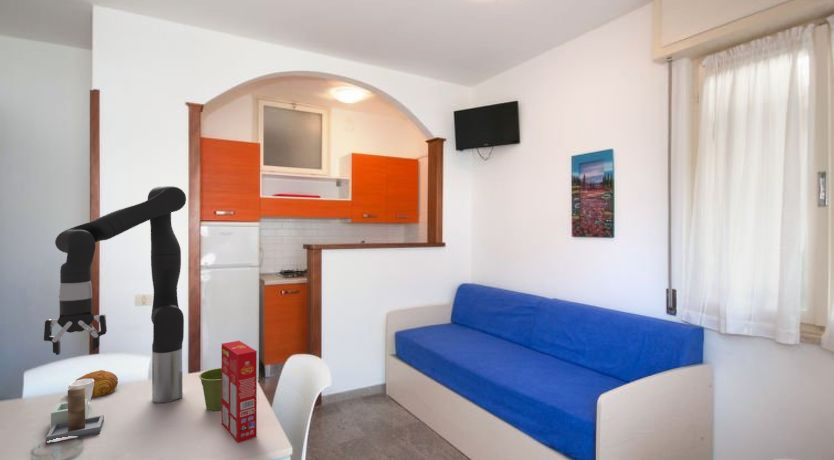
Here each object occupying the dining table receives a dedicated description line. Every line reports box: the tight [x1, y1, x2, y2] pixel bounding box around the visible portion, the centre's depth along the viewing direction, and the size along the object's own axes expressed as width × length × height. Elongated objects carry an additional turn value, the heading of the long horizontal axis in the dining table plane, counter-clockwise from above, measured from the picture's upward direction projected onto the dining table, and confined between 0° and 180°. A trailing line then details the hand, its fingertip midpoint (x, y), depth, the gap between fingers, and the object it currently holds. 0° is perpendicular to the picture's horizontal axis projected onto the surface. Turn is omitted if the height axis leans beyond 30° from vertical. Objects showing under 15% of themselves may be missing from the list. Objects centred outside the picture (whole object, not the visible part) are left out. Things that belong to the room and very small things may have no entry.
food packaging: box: [221, 340, 258, 444], centre depth 125 cm, size 15×5×25 cm, turn 42°
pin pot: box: [50, 399, 89, 429], centre depth 130 cm, size 8×8×5 cm
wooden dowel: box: [67, 386, 85, 432], centre depth 124 cm, size 4×4×12 cm
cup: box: [68, 379, 94, 406], centre depth 142 cm, size 7×10×8 cm
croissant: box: [68, 369, 119, 398], centre depth 154 cm, size 14×16×8 cm
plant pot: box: [198, 367, 222, 411], centre depth 142 cm, size 12×12×11 cm
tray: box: [45, 414, 105, 442], centre depth 124 cm, size 12×9×2 cm
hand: (76, 351), depth 124 cm, fingers open, 8 cm apart
